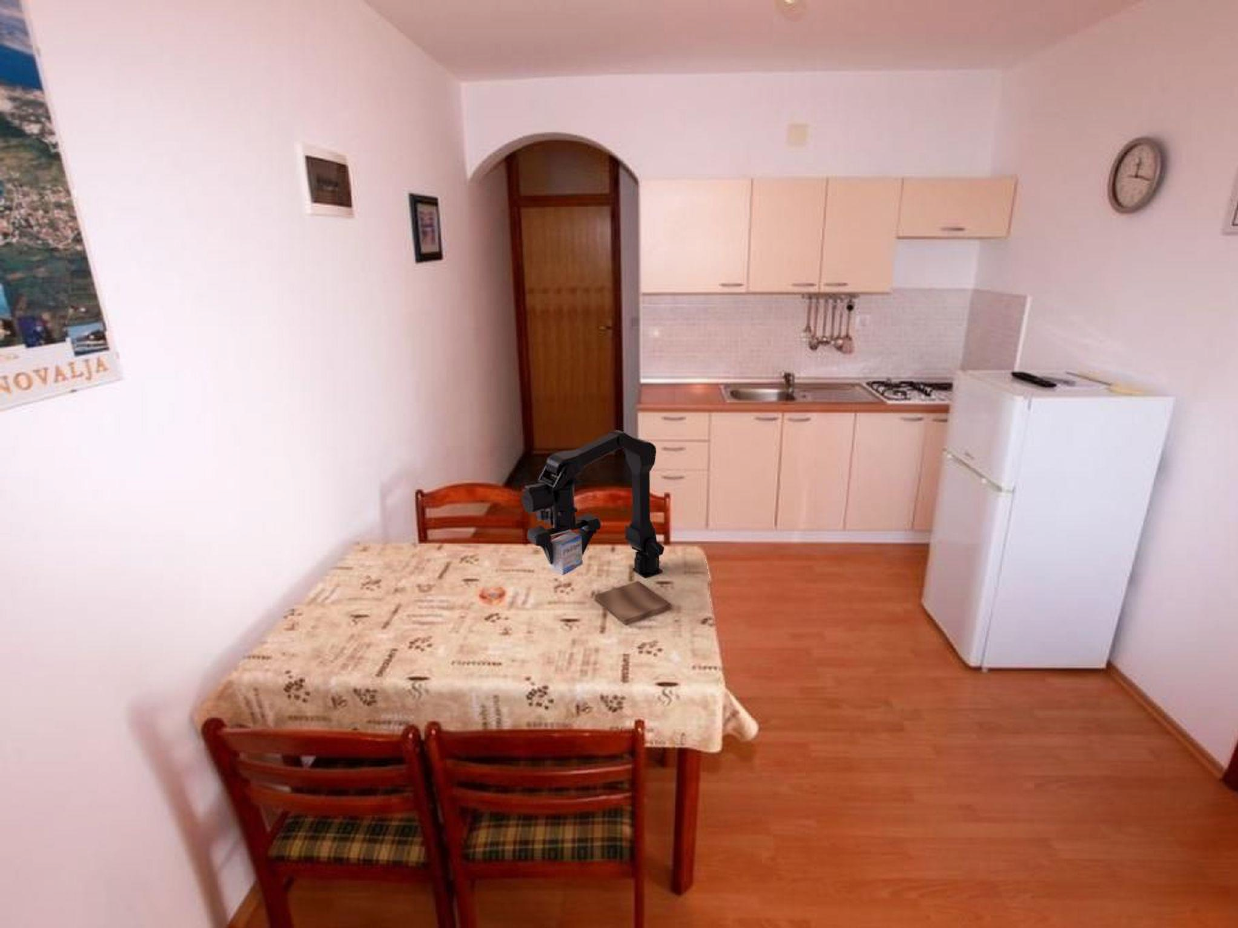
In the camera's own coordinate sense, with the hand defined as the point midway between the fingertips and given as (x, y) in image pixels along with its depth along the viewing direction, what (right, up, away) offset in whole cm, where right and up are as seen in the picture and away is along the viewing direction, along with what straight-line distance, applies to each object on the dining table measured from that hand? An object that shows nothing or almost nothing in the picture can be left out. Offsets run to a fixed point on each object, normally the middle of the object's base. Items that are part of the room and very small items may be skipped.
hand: (566, 559), depth 171 cm
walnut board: (+17, -12, +1) cm, 21 cm away
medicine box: (0, -3, +1) cm, 3 cm away
